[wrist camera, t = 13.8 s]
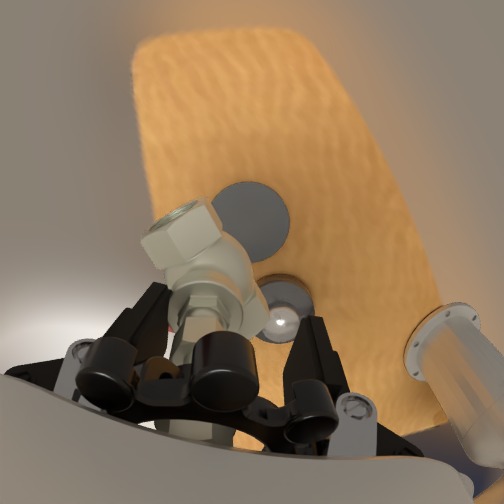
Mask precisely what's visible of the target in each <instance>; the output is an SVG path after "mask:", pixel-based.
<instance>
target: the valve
mask: <svg viewBox="0 0 504 504" xmlns="http://www.w3.org/2000/svg"><path fill="white" fill-rule="evenodd" d="M140 243H141V245H142V246H143V248H144V249H145V251H146V252H147V254H148V255H149V257H150V259H151V260H152V261H153V263H154V265H155V266H156V268H157V269H158V270H159V269H163V268H164V279H165V283H166V285H167V286H168V289H170V290H172V292H171V295H170V298H169V308H168V324H169V326H170V327H171V329H172V330H173V332H174V333H175V336H174V339H173V343H172V349H171V353H170V357H169V360H168V359H166V358H164V357H161V356H152V357H150V358H147V359H145V360H142V361H140V362H138V363H136V364H134V361H135V359H136V356H137V353H138V351H137V350H136V349H135V348H134V347H133V346H132V345H131V344H129V343H128V342H126V341H124V340H122V339H120V338H117V337H111V336H105V337H100V338H98V339H96V340H95V341H94V342H93V343H92V345H91V346H90V348H89V350H88V352H87V354H86V356H85V358H84V360H83V362H82V364H81V365H80V367H79V369H78V371H77V373H76V377H75V382H76V386H77V388H76V389H75V390H74V393H73V396H72V399H71V400H72V401H75V402H77V403H78V401H79V399H80V396H81V395H82V396H83V397H84V398H85V399H86V400H87V401H88V402H90V403H91V404H92V405H94V406H96V407H98V408H100V409H102V410H101V411H100V412H103V413H106V414H108V415H111V416H114V417H117V418H119V419H122V420H125V421H128V422H131V423H135V424H139V423H143V422H148V421H154V425H155V428H156V430H158V431H162V432H165V433H169V434H173V435H177V436H181V437H185V438H189V439H194V440H198V441H203V442H208V443H213V444H218V445H223V446H229V447H233V436H234V435H235V432H236V430H239V431H242V432H244V433H247V434H249V435H251V436H253V437H255V438H256V439H257V440H259V441H260V442H262V443H263V444H264V448H263V449H262V451H264V452H272V453H282V454H294V455H310V456H321V455H322V450H323V447H322V443H321V440H323V439H325V438H327V437H329V436H330V435H331V434H332V433H334V431H335V430H336V429H337V427H338V425H339V417H338V414H337V412H336V409H335V406H334V403H333V401H332V398H331V395H330V393H329V390H328V387H327V386H326V385H325V384H324V383H323V382H321V381H318V380H312V379H307V380H301V381H297V382H294V383H293V384H292V388H293V392H294V395H295V400H293V401H292V402H290V403H289V404H287V405H285V406H283V407H279V408H278V407H277V406H276V405H275V404H273V403H272V402H271V401H269V400H267V399H265V398H263V397H260V396H257V395H258V393H259V379H258V372H257V365H256V358H255V351H254V348H253V345H252V344H251V342H250V341H249V340H250V339H252V338H253V337H254V336H256V335H257V334H258V333H259V332H260V331H261V330H262V329H263V328H264V327H265V326H266V324H267V323H268V322H269V320H270V312H269V308H268V305H267V302H266V299H265V297H264V296H263V294H262V292H261V290H260V289H259V287H258V285H257V283H256V282H255V280H254V276H253V268H252V264H251V261H250V259H249V256H248V254H247V252H246V251H245V249H244V248H243V246H242V245H241V244H240V243H239V242H238V241H237V240H236V239H235V238H234V237H232V236H231V235H230V234H228V233H226V232H224V231H222V222H221V220H220V218H219V216H218V215H217V213H216V211H215V209H214V208H213V206H212V204H211V202H210V200H209V199H208V197H199V198H196V199H194V200H192V201H190V202H188V203H186V204H184V205H182V206H180V207H178V208H176V209H175V210H173V211H171V212H170V213H168V214H167V215H165V216H164V217H162V218H161V219H159V220H158V221H156V222H155V223H154V224H153V225H151V226H150V227H149V228H148V229H147V230H146V231H145V232H144V233H143V234H142V236H141V240H140ZM133 364H134V365H133ZM297 444H300V445H299V446H298V447H297V448H294V446H295V445H297Z"/></svg>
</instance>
